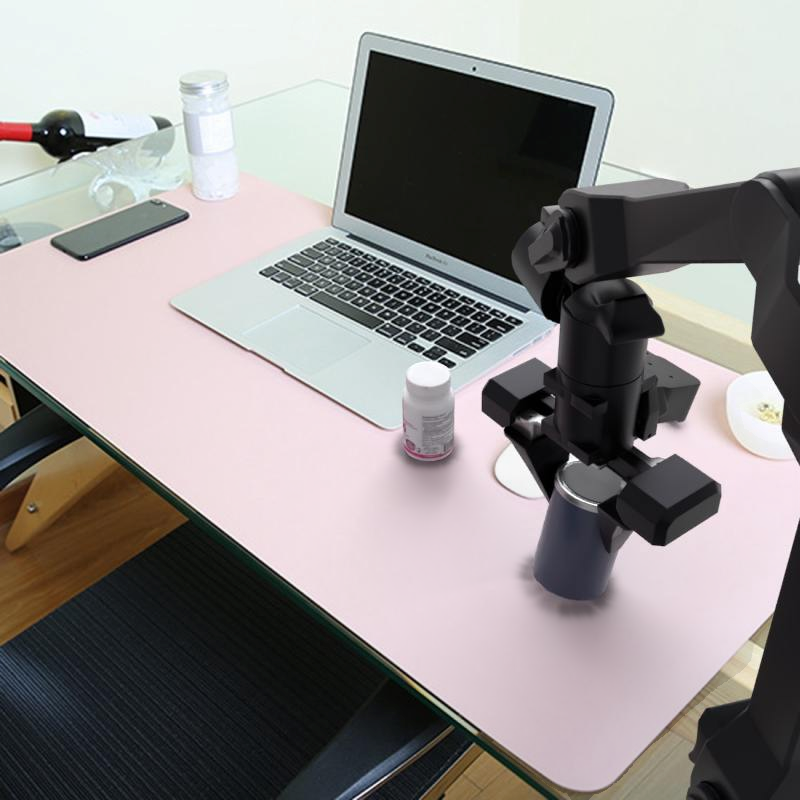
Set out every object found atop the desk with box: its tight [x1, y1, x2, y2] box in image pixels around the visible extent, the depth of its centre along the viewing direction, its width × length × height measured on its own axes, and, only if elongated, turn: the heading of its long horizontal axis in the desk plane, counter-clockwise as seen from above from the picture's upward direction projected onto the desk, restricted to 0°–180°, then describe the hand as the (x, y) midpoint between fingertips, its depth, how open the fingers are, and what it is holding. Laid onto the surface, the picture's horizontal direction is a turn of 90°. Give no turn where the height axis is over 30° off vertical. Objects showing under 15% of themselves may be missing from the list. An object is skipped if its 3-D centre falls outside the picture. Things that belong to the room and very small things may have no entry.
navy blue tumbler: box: [531, 458, 622, 602], centre depth 73 cm, size 6×6×9 cm
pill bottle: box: [401, 360, 456, 462], centre depth 87 cm, size 5×5×8 cm
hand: (584, 526), depth 73 cm, fingers closed on navy blue tumbler, 6 cm apart
